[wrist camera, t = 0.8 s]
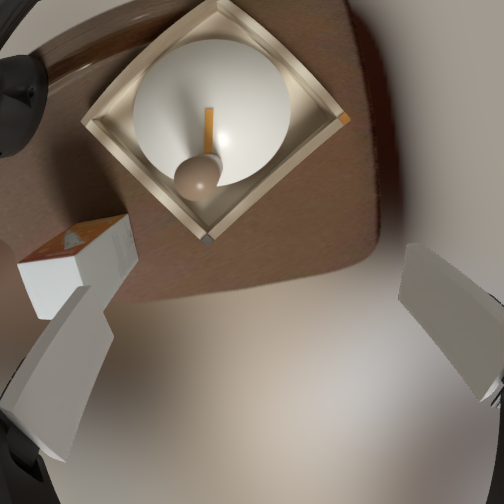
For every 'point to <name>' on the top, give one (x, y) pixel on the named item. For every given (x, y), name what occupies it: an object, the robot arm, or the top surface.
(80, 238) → the small box
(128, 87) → the dial housing
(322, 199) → the top surface
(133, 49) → the top surface
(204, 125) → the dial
